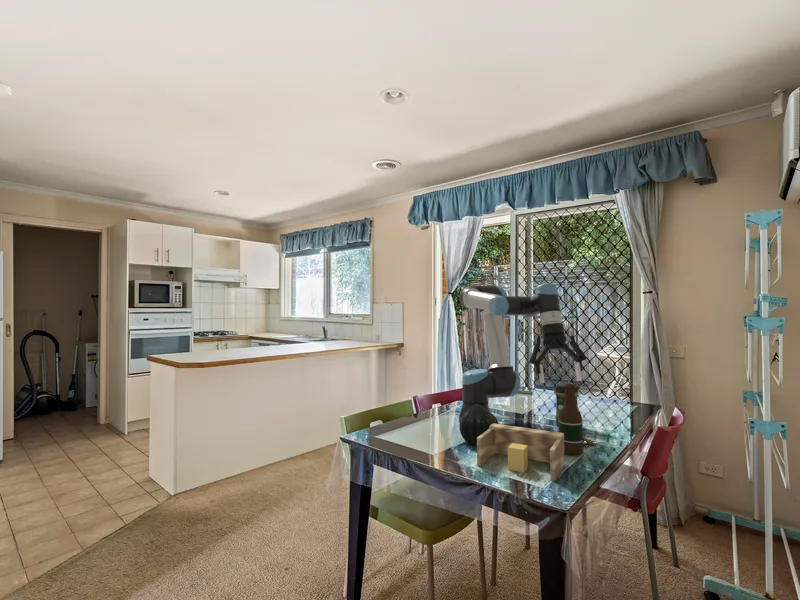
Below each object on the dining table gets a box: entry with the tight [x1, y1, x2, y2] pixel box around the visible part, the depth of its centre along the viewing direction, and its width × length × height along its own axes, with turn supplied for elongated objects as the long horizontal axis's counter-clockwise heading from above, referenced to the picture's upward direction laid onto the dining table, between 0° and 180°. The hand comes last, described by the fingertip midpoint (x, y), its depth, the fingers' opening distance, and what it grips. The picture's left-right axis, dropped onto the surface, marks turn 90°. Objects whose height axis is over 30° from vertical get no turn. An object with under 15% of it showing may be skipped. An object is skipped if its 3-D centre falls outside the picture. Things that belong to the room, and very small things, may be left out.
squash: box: [459, 404, 500, 445], centre depth 159 cm, size 14×15×15 cm
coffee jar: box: [554, 382, 579, 428], centre depth 181 cm, size 10×8×19 cm
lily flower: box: [583, 431, 596, 449], centre depth 158 cm, size 12×12×5 cm
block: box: [507, 443, 529, 473], centre depth 132 cm, size 5×5×7 cm
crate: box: [476, 423, 565, 482], centre depth 135 cm, size 24×16×10 cm, turn 59°
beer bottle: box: [558, 383, 584, 457], centre depth 147 cm, size 8×8×24 cm
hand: (561, 381), depth 150 cm, fingers open, 13 cm apart
